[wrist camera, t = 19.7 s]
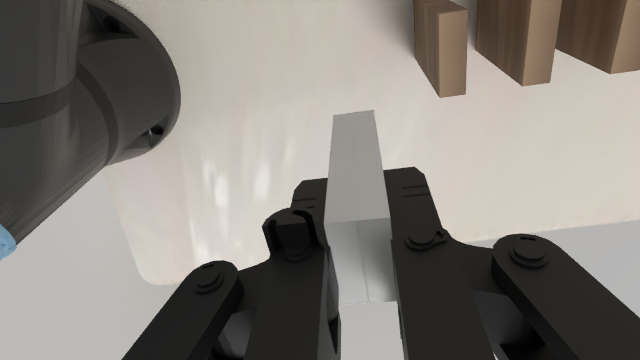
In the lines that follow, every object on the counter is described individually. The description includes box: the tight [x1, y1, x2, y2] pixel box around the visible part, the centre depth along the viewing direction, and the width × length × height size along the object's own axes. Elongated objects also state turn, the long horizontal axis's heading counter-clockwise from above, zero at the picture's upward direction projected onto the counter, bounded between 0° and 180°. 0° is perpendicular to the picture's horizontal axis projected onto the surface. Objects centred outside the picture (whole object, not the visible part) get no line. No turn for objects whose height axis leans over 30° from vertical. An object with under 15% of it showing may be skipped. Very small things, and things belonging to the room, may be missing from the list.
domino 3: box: [555, 0, 640, 74], centre depth 25 cm, size 2×5×10 cm, turn 10°
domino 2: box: [476, 0, 562, 86], centre depth 26 cm, size 2×5×10 cm, turn 10°
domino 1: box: [413, 0, 468, 98], centre depth 27 cm, size 2×5×10 cm, turn 10°
